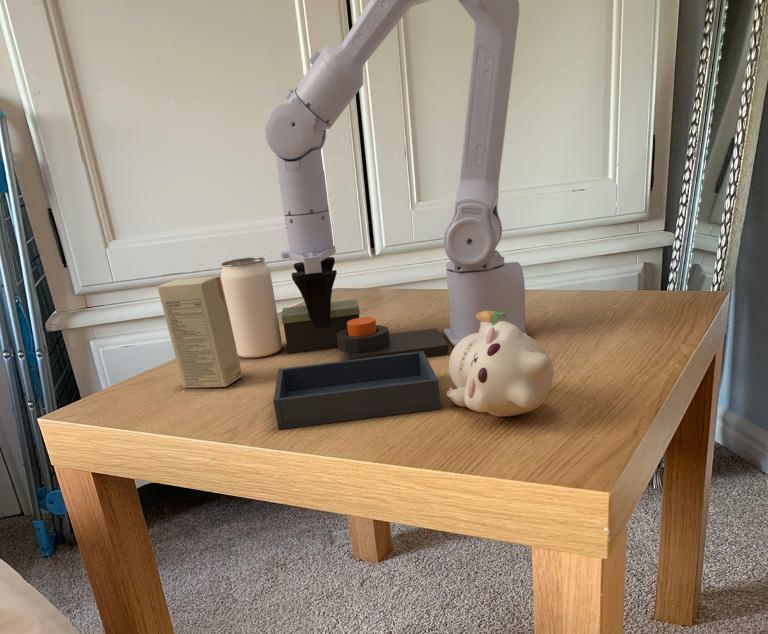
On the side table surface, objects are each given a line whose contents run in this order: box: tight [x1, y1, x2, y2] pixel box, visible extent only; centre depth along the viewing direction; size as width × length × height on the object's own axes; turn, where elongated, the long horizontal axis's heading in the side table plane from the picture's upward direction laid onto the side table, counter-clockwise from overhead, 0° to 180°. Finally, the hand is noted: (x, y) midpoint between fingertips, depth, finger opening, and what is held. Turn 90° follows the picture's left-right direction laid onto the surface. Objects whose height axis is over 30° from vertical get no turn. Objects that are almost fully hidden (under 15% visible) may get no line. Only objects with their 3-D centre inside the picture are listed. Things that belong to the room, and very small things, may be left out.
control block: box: [337, 324, 449, 360], centre depth 95 cm, size 13×9×3 cm
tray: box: [272, 351, 441, 430], centre depth 79 cm, size 16×11×3 cm
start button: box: [347, 316, 377, 336], centre depth 94 cm, size 4×4×2 cm
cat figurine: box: [445, 311, 554, 417], centre depth 71 cm, size 10×8×15 cm
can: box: [220, 256, 283, 360], centre depth 100 cm, size 6×6×12 cm
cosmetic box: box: [157, 275, 243, 389], centre depth 89 cm, size 6×4×12 cm
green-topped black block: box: [280, 299, 361, 354], centre depth 102 cm, size 10×5×5 cm, turn 95°
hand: (321, 320), depth 101 cm, fingers open, 7 cm apart
